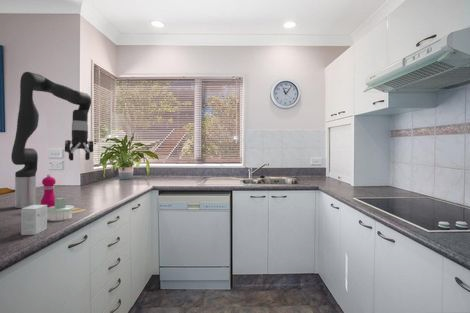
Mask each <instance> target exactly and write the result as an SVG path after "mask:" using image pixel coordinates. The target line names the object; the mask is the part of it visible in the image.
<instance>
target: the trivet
mask: <svg viewBox="0 0 470 313" xmlns="http://www.w3.org/2000/svg"><path fill="white" fill-rule="evenodd" d="M86 211H87V209H85V208H78V207H75V206H74V209H73V210H72V214H75V213H79V212H80V213H81V212H86Z"/></svg>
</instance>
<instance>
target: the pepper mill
mask: <svg viewBox="0 0 470 313" xmlns="http://www.w3.org/2000/svg"><path fill="white" fill-rule="evenodd" d="M41 183H42V185H43V186H42V187H43V188H42V189H43V196H42V198H41V200H40V205H47V208H48V207H52V206H55V198H56V196H55V193H54V189H55V184H56V179H55V178H54V177H52V175H51V174H50V173H47V175H46V177H44V178H43V179H42V181H41Z"/></svg>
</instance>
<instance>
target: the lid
mask: <svg viewBox="0 0 470 313" xmlns="http://www.w3.org/2000/svg"><path fill="white" fill-rule="evenodd" d="M66 202H67V201H66V197H57V198H56V197H55V206H52V207H48V208H47V212H64V211H70V210H73V209H74V207H75V206H74V205H72V204H71V205H70V204H67V205H66Z"/></svg>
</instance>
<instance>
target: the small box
mask: <svg viewBox="0 0 470 313" xmlns="http://www.w3.org/2000/svg"><path fill="white" fill-rule="evenodd" d="M20 209H21V210H20V212H21V214H20V216H21V218H20V220H21V221H20V226H21V227H20V228H21V229H20V230H21V231H20V234H21V236H22V235H23V236H27V235H29V236H33V235H34V236H35V235H38V234H40V233H42V232H43V231H45V230H47V229H48V220H47V205H41V204H35V205H31V206H28V207H25V208H20Z"/></svg>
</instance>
